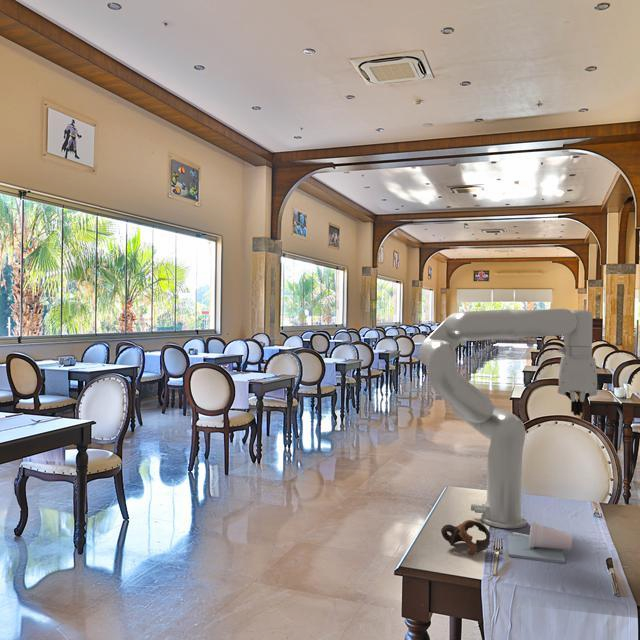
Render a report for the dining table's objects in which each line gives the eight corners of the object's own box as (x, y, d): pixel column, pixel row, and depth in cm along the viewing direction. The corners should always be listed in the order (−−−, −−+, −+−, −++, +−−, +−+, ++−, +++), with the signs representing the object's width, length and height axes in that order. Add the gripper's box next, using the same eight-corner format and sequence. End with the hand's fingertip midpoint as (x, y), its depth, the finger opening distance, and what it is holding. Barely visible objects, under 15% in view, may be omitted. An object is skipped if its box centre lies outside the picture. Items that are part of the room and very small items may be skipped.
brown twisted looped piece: (480, 543, 159) (491, 521, 156) (483, 572, 151) (495, 550, 147) (435, 530, 160) (446, 508, 156) (436, 559, 151) (447, 536, 148)
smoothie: (569, 554, 154) (511, 543, 158) (570, 528, 155) (513, 517, 160) (571, 556, 148) (511, 544, 152) (573, 528, 150) (514, 518, 154)
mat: (508, 556, 150) (508, 553, 150) (507, 537, 163) (507, 535, 163) (565, 563, 146) (565, 560, 146) (559, 543, 159) (559, 541, 159)
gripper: (551, 352, 176) (550, 415, 176) (607, 353, 172) (606, 418, 172) (549, 351, 184) (548, 411, 183) (603, 352, 179) (602, 414, 179)
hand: (576, 414), depth 178 cm, fingers closed
